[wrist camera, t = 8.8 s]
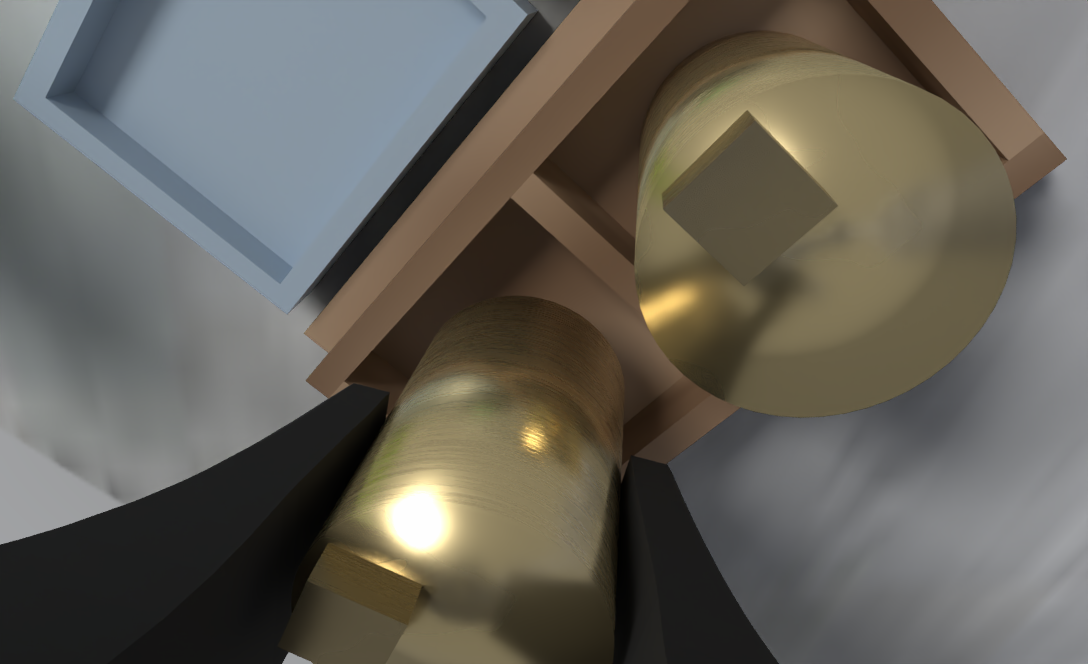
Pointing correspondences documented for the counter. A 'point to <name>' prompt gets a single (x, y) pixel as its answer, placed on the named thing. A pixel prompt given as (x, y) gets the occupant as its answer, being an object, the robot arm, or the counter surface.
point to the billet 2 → (813, 227)
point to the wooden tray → (613, 190)
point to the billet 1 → (479, 505)
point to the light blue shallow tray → (263, 112)
